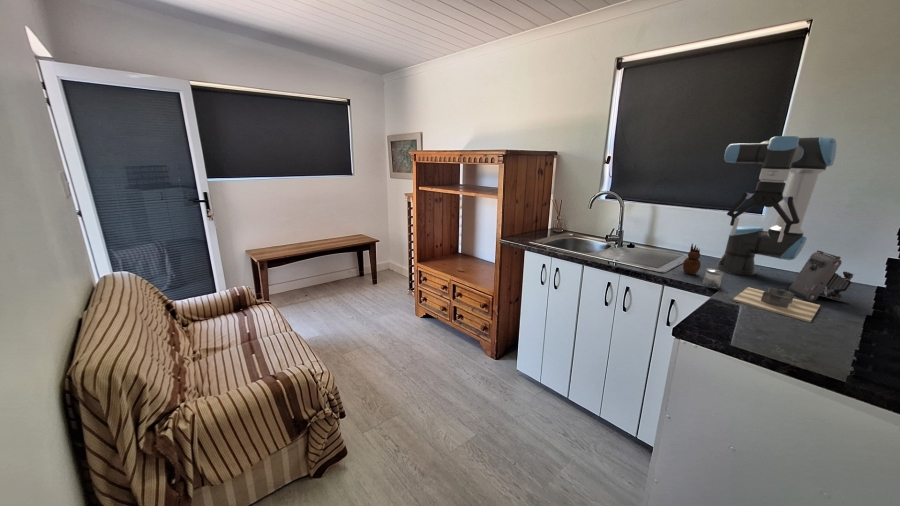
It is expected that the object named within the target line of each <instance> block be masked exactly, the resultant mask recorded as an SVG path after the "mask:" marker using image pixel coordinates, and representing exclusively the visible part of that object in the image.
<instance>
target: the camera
mask: <svg viewBox="0 0 900 506" xmlns="http://www.w3.org/2000/svg"><path fill="white" fill-rule="evenodd" d="M841 259H842V258H841V256H837V255H835V254H831V253H828V252H824V251H823V250H816V252H813V253H812V254H811V255H810V256H809V258H808V260H807V261H806V262H805V264H804V265H803V267H802V268H801V270H800V271H799V273H798V274H797V276H796V277H795V279H794V281H792V283H791V285H790V286H789V287H788V288H789V289H788V291H789V292H791V293H794V294H795V295H794V296H797V297H800V298H802V299H804V300H806V301H807V302H814V301H816V300H817V299H818V297H819V296H821V297H823V298H825V299H826V298H827V299H831V300H834V301H836V302H841V303H845V304H847V305H850V302H848V301H846V300H844V299H842V298H841V297H842V295H841V294H840V293H841V292H846V291H847V290H848V289H849V288H851V285H852V284H854V283H853V282H852V281H851V280H852V279H853V277H854V275H855V273H851V272H849V271H843V272H842V273H843V277H842V276H841V275H839V273H837V271H838V269H839V268H840V267H841V265H842V263H843V261H842V260H841ZM827 290H829V293H828V291H827ZM830 290H831V291H830Z"/></svg>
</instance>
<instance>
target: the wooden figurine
mask: <svg viewBox="0 0 900 506" xmlns="http://www.w3.org/2000/svg"><path fill="white" fill-rule="evenodd" d="M689 250H690V251H689V252H688V254H687V258H685V259H684V261H683V264H682V268H683V272H684V273H687V274H688V273H689V275H695V274H697V273H698V272H699V271H700V269H701V264H702V263H701V260H699V259H700V258H701V253H700V252H701V251H700V248H699V247H697V244H695V245H694V244H693V243H691V246H690V249H689Z"/></svg>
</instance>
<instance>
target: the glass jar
mask: <svg viewBox="0 0 900 506" xmlns="http://www.w3.org/2000/svg"><path fill="white" fill-rule="evenodd" d="M724 274H725V271H722V270H720V269H718V268H712V267H711V268H705V273H704V277H703V282H702V285H703V284H705V285H708V286H711V287H710V288H712V287H716V288H715V289H719V288H720V285H721V282H722V279H723V276H724ZM705 285H704V286H705ZM708 286H707V287H708Z"/></svg>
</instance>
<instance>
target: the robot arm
mask: <svg viewBox="0 0 900 506" xmlns="http://www.w3.org/2000/svg"><path fill="white" fill-rule="evenodd" d="M836 153H837V140H836V139H835V138H833V137H821V136H820V137H799V136H793V135H790V136H789V135H780V136H779V135H778V136H773V137H771V138H770V139H769V140H764V141H762V142H760V143H759V142H758V143H757V142H756V143H754V142H753V143H752V142H751V143H730V144H729V145H728V146H727V147H726V149H725V152H724V155H723V156H724V158H723V160H724V161H725V163H732V164H762V167H761V169H760V173H759V178H758V180H759V181H758V182H757V183H756V186H755V190H754V193H749V192H743V194H742V196H741V197H740V199H739V200H738V202H736V204H734V205H733V206H732V208H731V209H730V210H729V211H728V212H727V213H726V215H727V216H729V217H731V220H730V224H729V225H730V226H732V228H731V230H730V233H729V235H728V239H727V243H726V246H725V251H724V254H723V255H722V257H721V258H720V259H719V261H718V262H717V264H716V269H717V270H721V271H723V272H724V273H729V274H735V275H740V276H753V275H755V273H756V264H755V257H756V255H759V256H764V257H770V258H773V259H779V260H786V261H793V260H796V258H798V256H799V254H800V253H801V252H802V249H803V248H804V246H805V245H806V241H807V238H808V237H807V236H805V235H804V231H803V230H802V229H801V228H802V225H803V222H804V219H805V215H806V212H807V209H808V207H809V204H810V201H811V198H812V195H813V193H814V189H815V186H816V183H817V180H818V178H819V175H820V174H822V173H824V172H825V171H827V168H828V167H831V166H833V164H834V162H835V159H836ZM789 174H790V175H789ZM788 178H789V179H788ZM786 181H788V182H787V184H786ZM785 188H786V189H785ZM783 194H784V195H783ZM750 198H752V200H753V202H751V203H749V204H748V205H746V206H744V207H743V208H741V209H740V210H738V209H739V208H740V207H741V206H742V205H743V204H744V203H745V201H747V200H749V199H750ZM780 202H781V204H779V203H780ZM754 206H757V207H766V208H772V207H773V208H774V209H775V211H776V212H777V217H776V220H775V223H774V225H772V226H770V227H769V228H768V230H767V231H766V230H764V227H762V226H756V225H739V223H740V217H739V216H741V215H742V214H744V213H745V212H747V211H749V210H750V209H751V208H753V207H754ZM737 210H738V211H737ZM736 211H737V212H736Z"/></svg>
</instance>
